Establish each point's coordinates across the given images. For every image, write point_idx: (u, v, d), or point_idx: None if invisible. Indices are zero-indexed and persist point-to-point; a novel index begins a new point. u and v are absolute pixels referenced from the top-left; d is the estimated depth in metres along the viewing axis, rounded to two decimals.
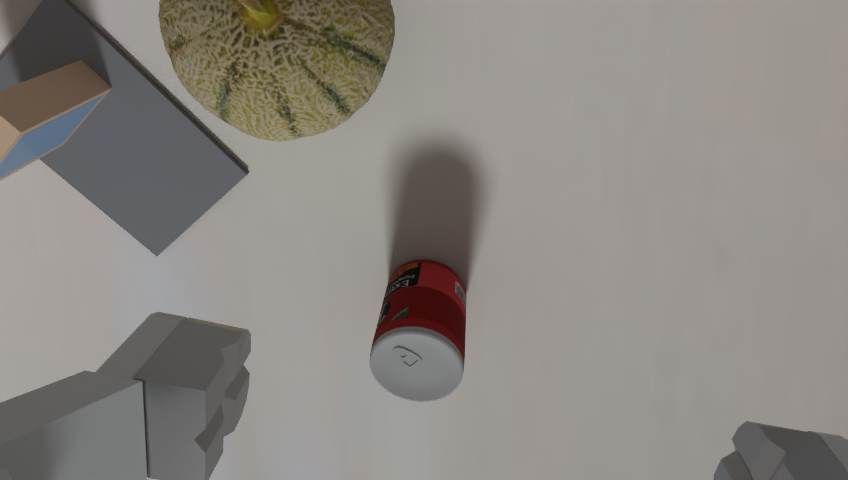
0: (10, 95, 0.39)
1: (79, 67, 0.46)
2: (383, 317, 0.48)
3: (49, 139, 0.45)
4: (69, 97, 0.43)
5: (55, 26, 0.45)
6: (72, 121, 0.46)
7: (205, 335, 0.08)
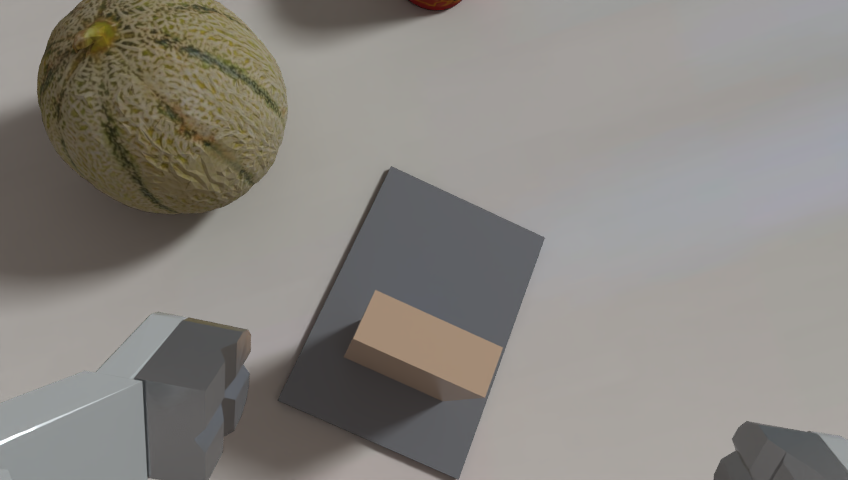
0: None
1: None
2: None
3: None
4: None
5: (317, 390, 0.40)
6: None
7: (205, 335, 0.08)
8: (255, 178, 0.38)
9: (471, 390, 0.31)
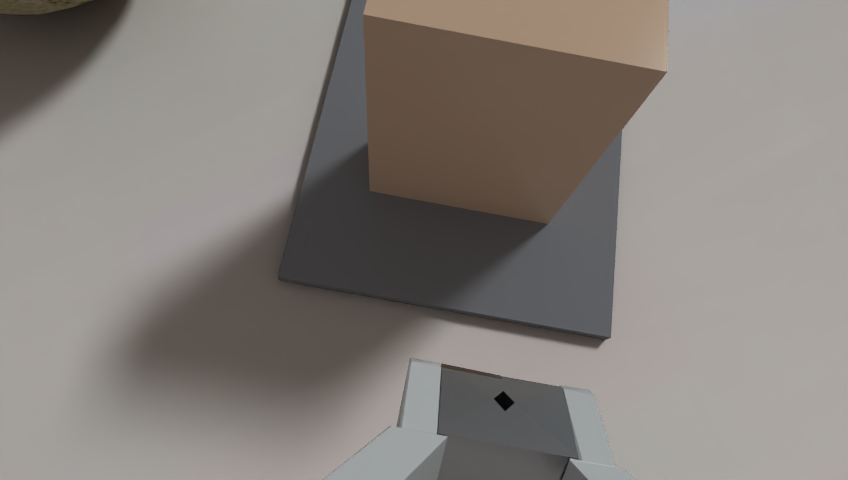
0: None
1: None
2: None
3: None
4: None
5: (339, 248, 0.24)
6: None
7: (472, 384, 0.08)
8: None
9: (635, 63, 0.15)
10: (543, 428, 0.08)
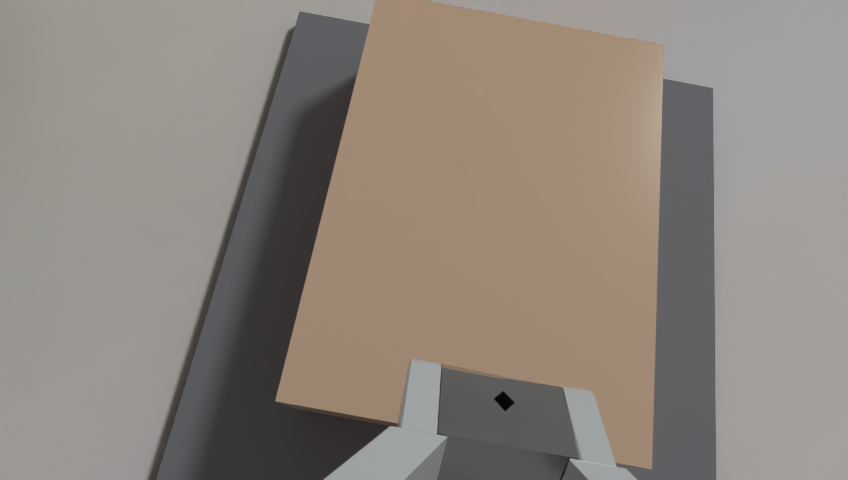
0: None
1: None
2: None
3: None
4: None
5: None
6: None
7: (472, 384, 0.08)
8: None
9: (632, 40, 0.16)
10: (543, 428, 0.08)
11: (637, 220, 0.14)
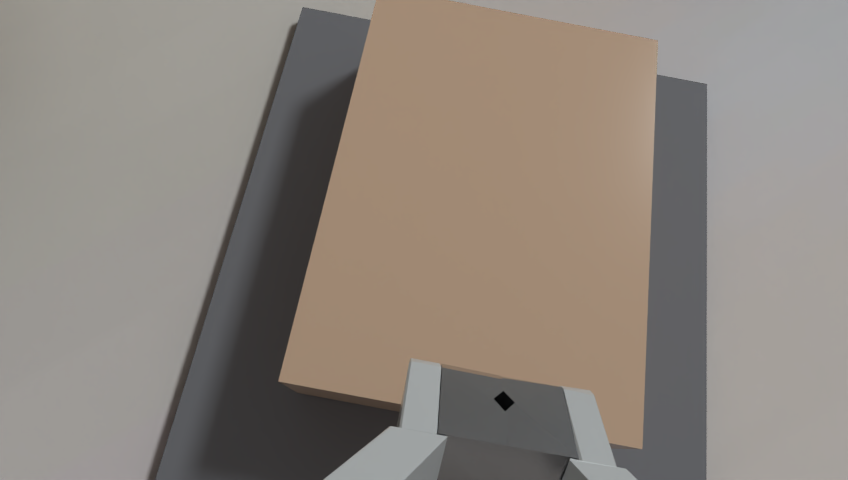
0: None
1: None
2: None
3: None
4: None
5: None
6: None
7: (472, 384, 0.08)
8: None
9: (627, 36, 0.16)
10: (543, 428, 0.08)
11: (630, 210, 0.14)
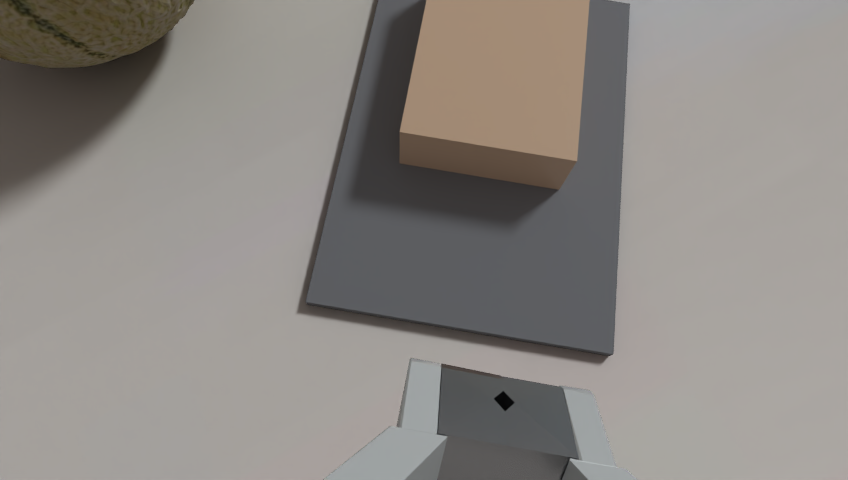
0: None
1: None
2: None
3: None
4: None
5: (361, 274, 0.26)
6: None
7: (472, 383, 0.08)
8: None
9: None
10: (544, 428, 0.08)
11: (574, 56, 0.27)
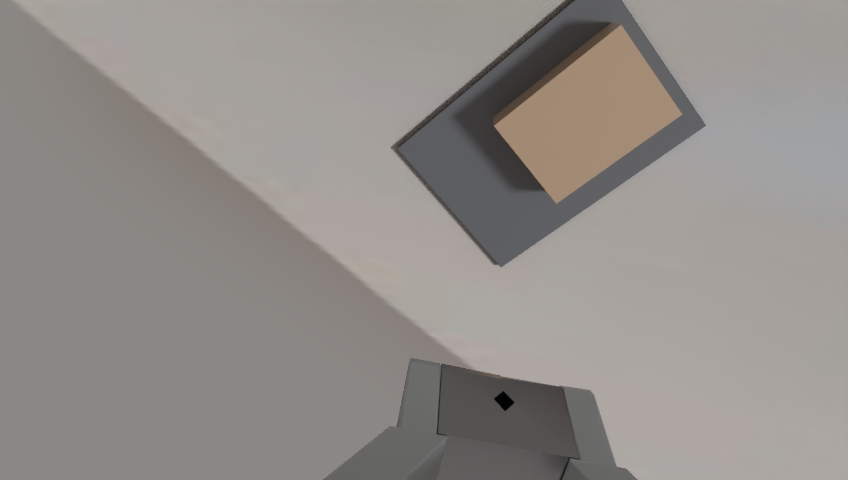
0: (593, 45, 0.40)
1: (504, 116, 0.43)
2: None
3: None
4: (542, 79, 0.43)
5: (430, 156, 0.47)
6: None
7: (472, 384, 0.08)
8: None
9: (675, 105, 0.41)
10: (543, 428, 0.08)
11: (614, 154, 0.43)
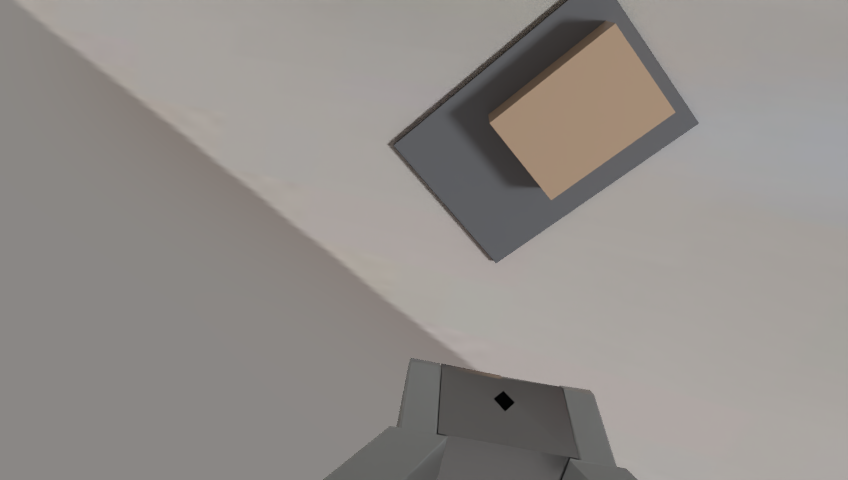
0: (587, 43, 0.41)
1: (499, 113, 0.43)
2: None
3: None
4: (537, 77, 0.44)
5: (426, 153, 0.47)
6: None
7: (472, 384, 0.08)
8: None
9: (669, 103, 0.42)
10: (544, 428, 0.08)
11: (608, 152, 0.43)
